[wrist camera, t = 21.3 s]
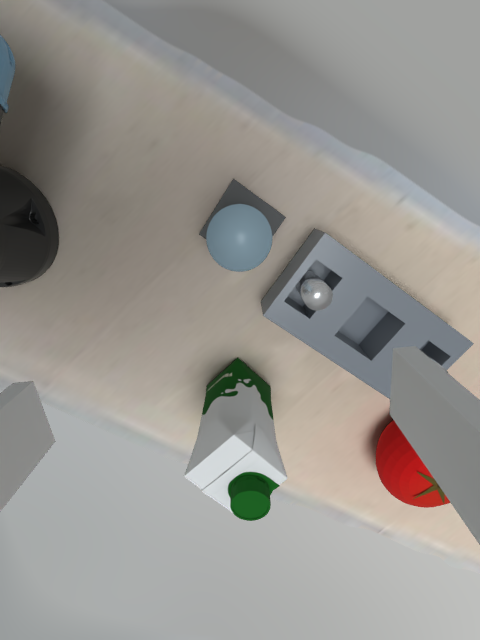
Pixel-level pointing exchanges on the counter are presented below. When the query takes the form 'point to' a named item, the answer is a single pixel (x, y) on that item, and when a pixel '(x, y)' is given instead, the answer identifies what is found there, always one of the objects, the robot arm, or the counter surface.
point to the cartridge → (239, 237)
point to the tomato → (406, 471)
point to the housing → (357, 314)
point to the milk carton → (237, 444)
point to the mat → (244, 196)
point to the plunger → (314, 291)
